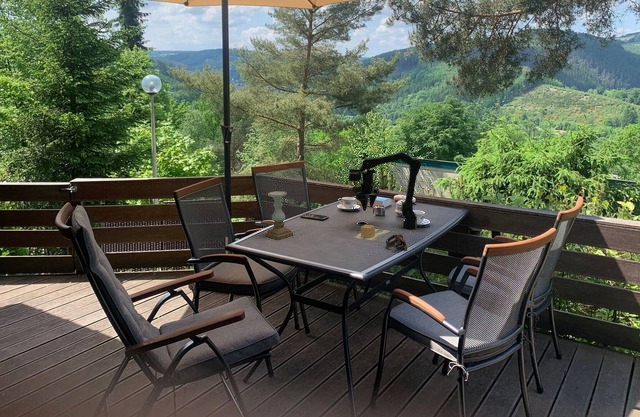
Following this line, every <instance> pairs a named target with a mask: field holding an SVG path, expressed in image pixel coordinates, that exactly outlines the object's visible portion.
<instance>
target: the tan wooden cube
mask: <svg viewBox="0 0 640 417" xmlns="http://www.w3.org/2000/svg"><path fill="white" fill-rule="evenodd" d="M375 229H376V225H371V224H364V225H362V226H360V233H361V237H363V238H370V239H371V238H372V237H374V236H375Z"/></svg>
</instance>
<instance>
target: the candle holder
mask: <svg viewBox="0 0 640 417" xmlns="http://www.w3.org/2000/svg"><path fill="white" fill-rule="evenodd" d="M267 195H268V197H271V198H272V199H273V201H274V202H273V205H272V206H273V207H274V211H273V213H272V214H271V220H272V221H273V222H272V225H273V227H272V228H270V229H268V230H267V232H266V233H265V237H266V238H270V239H273V240H277V241H279V240H284V239H287V238H290V237H293V236H294V232H292V229H290V228H287V227H286V226H285V222H284V221H285V220H286V214H285V213H284V211H283V210H282V207H283V206H284V204H283V203H282V199H283V197H285V196H287V195H288V193H287V191H282V190H278V191H277V190H276V191H275V190H274V191H270V192H268V193H267Z"/></svg>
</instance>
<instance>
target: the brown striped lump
mask: <svg viewBox="0 0 640 417" xmlns="http://www.w3.org/2000/svg"><path fill="white" fill-rule="evenodd" d="M385 244H386V246H385V247H386V248H388V249H389V248H393V247H394V248H396V245H398V246H402V247H403V249H404V251H405V252H406V251H407V250H408V246H407V243H406V240H405V239H404V235H402V234H400V233H399V234H393V235H391V236H389V237H388V238H387V239H386V241H385Z"/></svg>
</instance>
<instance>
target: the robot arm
mask: <svg viewBox="0 0 640 417" xmlns="http://www.w3.org/2000/svg"><path fill="white" fill-rule="evenodd" d="M396 161H402V162H404V163H406V165H408V168H409V169H408V170H409V171H408V172H409V175H408V176H409V177H408V183H407V187H406V194H405V199H404V201H401V207H400V208H399V209H400V211H401V214H402V216H403V217H404V219H403V222H402V223H403V229H406V230H417V229H418V218H417V215H416V212H414V206H413V205H414V204H413V199H414V194H415V190H416V181H417V177H418V174H419V172H420V169H421V166H422V163H421V162H422V161H420V160H419V158H417V157H412V156H410V155H409V154H406V153H405V152H404V151H399V152H395V153H391V154H387V155H383V156H379V157H378V156H377V157H365V158H364V159H363V160H362V162H361V165H360V167H359V168H356V169H355V168H349V172H348V182H360V181H362V183H360V185H359V186H357V185H355V186H352V189H351V193H352V192H353V194H354V195H355V200H357V201H358V202H360V205H361V208H362V211H363V212H366V211H367V207H368V204H369V207H370V208H373V206H374V204H375V201H376V200H377V198H378V196H379V194H380V189H379V188H377V187H374V185H375V182H374V174H377V170H375V168H376V167H378V166H380V165H384V164H389V163H393V162H396Z"/></svg>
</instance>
